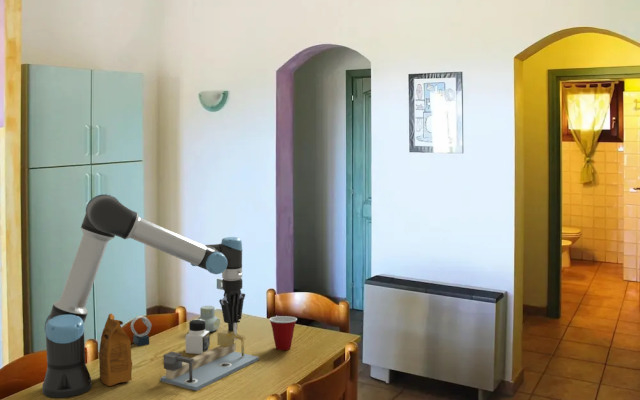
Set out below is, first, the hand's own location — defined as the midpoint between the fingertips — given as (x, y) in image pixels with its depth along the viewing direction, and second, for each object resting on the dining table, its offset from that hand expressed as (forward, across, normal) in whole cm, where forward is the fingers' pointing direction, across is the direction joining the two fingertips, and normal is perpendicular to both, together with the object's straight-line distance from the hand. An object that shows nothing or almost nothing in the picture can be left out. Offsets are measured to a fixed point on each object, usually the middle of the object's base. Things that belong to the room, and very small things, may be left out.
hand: (232, 339), depth 256 cm
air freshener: (+6, +17, +27) cm, 32 cm away
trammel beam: (+4, -17, -3) cm, 18 cm away
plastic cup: (+5, +15, -13) cm, 20 cm away
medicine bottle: (+6, -5, +13) cm, 15 cm away
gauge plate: (+5, -18, -5) cm, 20 cm away
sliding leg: (+4, -4, -3) cm, 7 cm away
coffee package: (+6, -42, +17) cm, 46 cm away
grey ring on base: (+6, -10, +38) cm, 40 cm away
